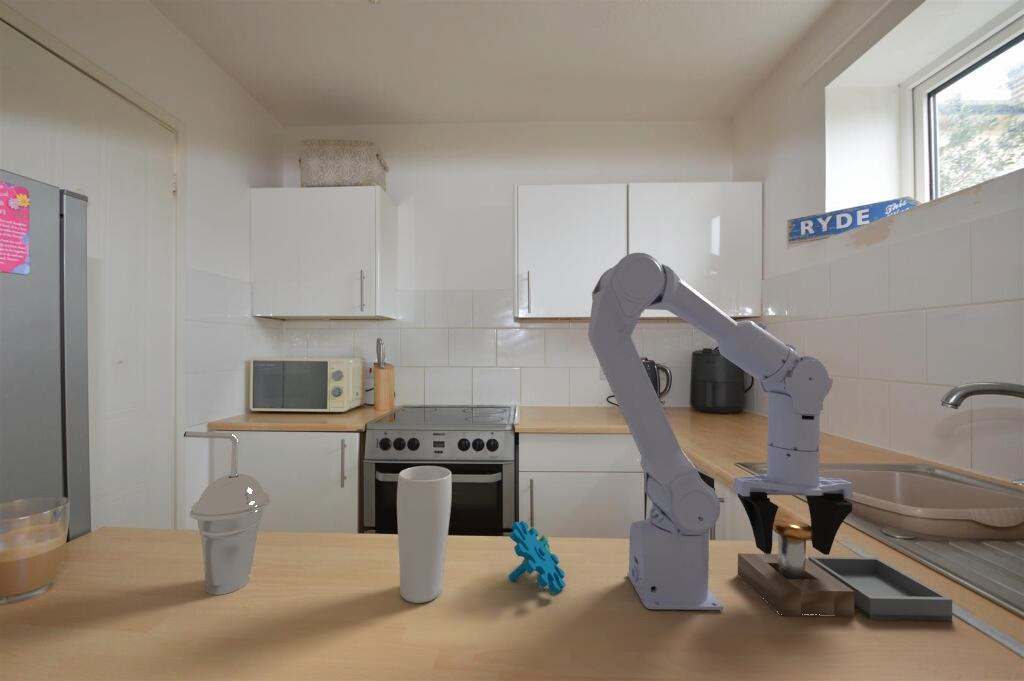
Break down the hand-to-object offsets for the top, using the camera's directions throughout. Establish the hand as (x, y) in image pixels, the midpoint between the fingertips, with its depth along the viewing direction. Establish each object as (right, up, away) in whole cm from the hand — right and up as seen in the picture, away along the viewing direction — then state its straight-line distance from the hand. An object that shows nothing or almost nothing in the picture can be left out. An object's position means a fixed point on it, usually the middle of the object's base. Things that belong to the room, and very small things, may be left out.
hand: (792, 550), depth 54 cm
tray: (+11, -6, 0) cm, 12 cm away
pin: (0, -6, 0) cm, 6 cm away
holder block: (0, -6, 0) cm, 6 cm away
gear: (-33, -5, +1) cm, 34 cm away
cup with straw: (-73, -4, -2) cm, 73 cm away
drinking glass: (-48, -4, -2) cm, 48 cm away
